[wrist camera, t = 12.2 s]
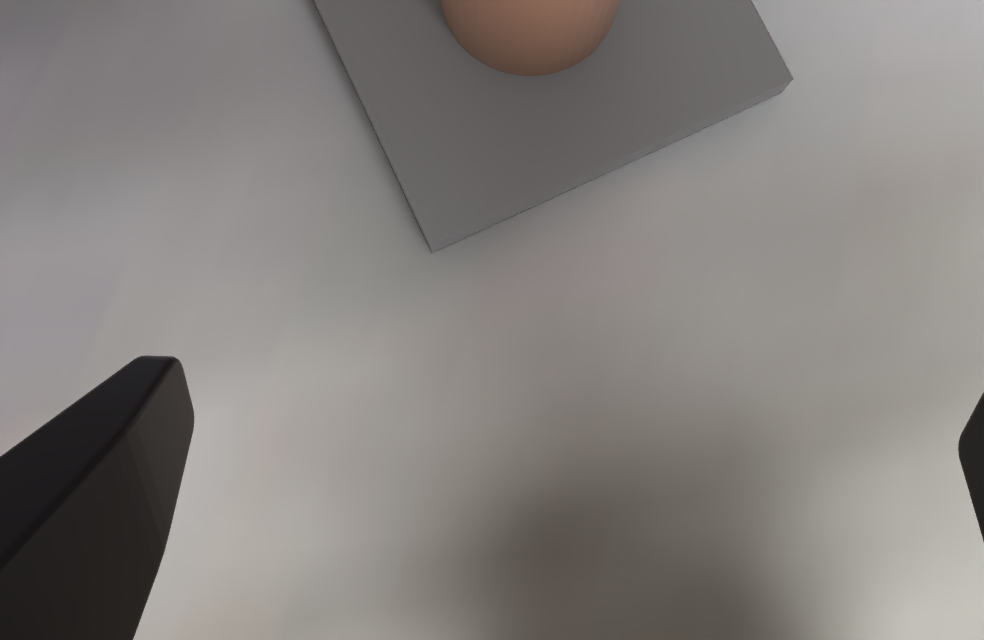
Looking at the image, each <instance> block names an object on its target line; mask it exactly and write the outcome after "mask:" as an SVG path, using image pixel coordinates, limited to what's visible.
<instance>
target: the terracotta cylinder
mask: <svg viewBox="0 0 984 640" xmlns="http://www.w3.org/2000/svg"><path fill="white" fill-rule="evenodd" d="M620 2H621V0H440V4H441V8H442V12H443V15H444V18H445V20H446V23H447V25H448V27H449V29H450V31H451V32H452V34H453V36H454V37H455V38H456V40H457V41H458V42H459V44H460V45H461V46H462V47H463V48H464V49H465V50H466V51H467V52H468V53H469V54H471V55H472V56H473V57H474V58H476V59H477V60H479V61H480V62H482V63H484V64H485V65H487V66H489V67H491V68H494V69H496V70H498V71H502V72H505V73H509V74H514V75H521V76H539V75H547V74H552V73H556V72H559V71H562V70H565V69H568V68H570V67H572V66H573V65H575V64H577V63H579V62H581V61H582V60H583V59H585V58H586V57H588V56H589V55H590V54H591V53H592V52H593V51H594V50H595V49H596V48H597V47H598V46H599V45H600V44H601V42H602V41H603V40H604V39H605V37H606V35H607V34H608V32H609V31H610V28H611V26H612V24H613V22H614V19H615V16H616V13H617V10H618V7H619V5H620Z"/></svg>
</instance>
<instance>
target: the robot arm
mask: <svg viewBox="0 0 984 640" xmlns="http://www.w3.org/2000/svg"><path fill="white" fill-rule="evenodd" d="M193 428H194V410H193V406H192V402H191V398H190V394H189V390H188V386H187V382H186V378H185V374H184V370H183V367H182V364H181V363H180V361H179V360H178V359H177V358H175V357H172V356H140V357H138V358H136V359H134V360H133V361H131V362H130V363H129V364H127V365H126V366H124V367H123V368H122V369H120V370H119V371H118V372H116V373H115V374H113V375H112V376H111V377H109V378H108V379H106V380H105V381H104V382H102V383H101V384H100V385H98V386H97V387H95V388H94V389H93V390H91V391H90V392H89V393H87V394H86V395H84V396H83V397H82V398H80V399H79V400H78V401H76V402H75V403H73V404H72V405H71V406H69V407H68V408H67V409H65V410H64V411H62V412H61V413H60V414H58V415H57V416H56V417H54V418H53V419H51V420H50V421H49V422H47V423H46V424H45V425H43V426H42V427H40V428H39V429H38V430H36V431H35V432H33V433H32V434H31V435H29V436H28V437H27V438H25V439H24V440H22V441H21V442H20V443H18V444H17V445H16V446H14V447H13V448H11V449H10V450H9V451H7V452H6V453H5V454H3V455H2V456H0V640H133V638H134V636H135V633H136V630H137V627H138V625H139V622H140V619H141V616H142V614H143V611H144V608H145V605H146V603H147V600H148V597H149V594H150V592H151V589H152V586H153V583H154V581H155V578H156V575H157V572H158V569H159V566H160V563H161V560H162V557H163V554H164V551H165V548H166V544H167V540H168V536H169V532H170V528H171V524H172V519H173V515H174V511H175V507H176V502H177V498H178V494H179V489H180V485H181V481H182V477H183V472H184V468H185V464H186V459H187V455H188V451H189V447H190V442H191V438H192V434H193ZM958 451H959V458H960V462H961V465H962V469H963V472H964V476H965V479H966V482H967V486H968V489H969V493H970V496H971V499H972V503H973V506H974V510H975V513H976V517H977V520H978V523H979V527H980V530H981V534H982V537H983V541H984V393H983V394H982V396H981V398H980V400H979V402H978V404H977V405H976V407H975V409H974V411H973V413H972V415H971V417H970V419H969V420H968V422H967V424H966V426H965V428H964V430H963V432H962V434H961V436H960V440H959V447H958Z"/></svg>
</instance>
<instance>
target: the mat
mask: <svg viewBox="0 0 984 640" xmlns="http://www.w3.org/2000/svg"><path fill="white" fill-rule="evenodd" d="M313 1H314V3H315V5H316V7H317V9H318V11H319V14H320V16H321V18H322V20H323V22H324V24H325V26H326V28H327V31H328V33H329V35H330V37H331V39H332V41H333V43H334V46H335V48H336V50H337V52H338V54H339V56H340V58H341V60H342V63H343V65H344V67H345V69H346V71H347V73H348V75H349V77H350V80H351V82H352V84H353V86H354V88H355V90H356V92H357V94H358V97H359V99H360V101H361V103H362V105H363V107H364V109H365V111H366V114H367V116H368V118H369V120H370V122H371V124H372V126H373V128H374V131H375V133H376V135H377V137H378V139H379V141H380V143H381V145H382V148H383V150H384V152H385V154H386V156H387V158H388V160H389V162H390V165H391V167H392V169H393V171H394V173H395V175H396V177H397V179H398V182H399V184H400V186H401V188H402V190H403V192H404V194H405V197H406V199H407V201H408V203H409V205H410V207H411V209H412V211H413V214H414V216H415V218H416V220H417V222H418V224H419V226H420V228H421V231H422V233H423V235H424V237H425V239H426V241H427V243H428V245H429V248H430V250H431V252H432V253H433V252H435V251H438V250H440V249H442V248H444V247H446V246H449V245H451V244H453V243H455V242H457V241H459V240H462V239H464V238H466V237H468V236H470V235H473V234H475V233H477V232H479V231H481V230H483V229H486V228H488V227H490V226H492V225H494V224H497V223H499V222H501V221H503V220H505V219H507V218H510V217H512V216H514V215H516V214H518V213H520V212H523V211H525V210H527V209H529V208H531V207H534V206H536V205H538V204H540V203H542V202H544V201H547V200H549V199H551V198H553V197H555V196H558V195H560V194H562V193H564V192H566V191H568V190H571V189H573V188H575V187H577V186H579V185H582V184H584V183H586V182H588V181H590V180H592V179H595V178H597V177H599V176H601V175H603V174H606V173H608V172H610V171H612V170H614V169H616V168H619V167H621V166H623V165H625V164H627V163H629V162H632V161H634V160H636V159H638V158H640V157H643V156H645V155H647V154H649V153H651V152H653V151H656V150H658V149H660V148H662V147H664V146H667V145H669V144H671V143H673V142H675V141H677V140H680V139H682V138H684V137H686V136H688V135H691V134H693V133H695V132H697V131H699V130H701V129H704V128H706V127H708V126H710V125H712V124H715V123H717V122H719V121H721V120H723V119H725V118H728V117H730V116H732V115H734V114H736V113H738V112H741V111H743V110H745V109H747V108H749V107H752V106H754V105H756V104H758V103H760V102H762V101H765V100H767V99H769V98H771V97H773V96H776V95H778V94H780V93H781V92H782V91H783V90H784V89H785V88H786V87H787V86H788V84H789V83H790V82H791V81H792V80H793V77H792V75H791V73H790V72H789V70H788V68H787V66H786V64H785V62H784V60H783V59H782V57H781V55H780V53H779V51H778V49H777V47H776V45H775V44H774V42H773V40H772V38H771V36H770V34H769V32H768V31H767V29H766V27H765V25H764V23H763V21H762V19H761V17H760V16H759V14H758V12H757V10H756V8H755V6H754V4H753V3H752V1H751V0H621V2H620V5H619V7H618V10H617V13H616V16H615V19H614V22H613V24H612V26H611V28H610V31H609V32H608V34H607V35H606V37H605V39H604V40H603V41H602V42H601V44H600V45H599V46H598V47H597V48H596V49H595V50H594V51H593V52H592V53H591V54H590V55H589V56H588V57H586V58H585V59H583V60H582V61H581V62H579V63H577V64H575V65H573V66H572V67H570V68H568V69H565V70H562V71H559V72H556V73H552V74H547V75H539V76H521V75H514V74H509V73H505V72H502V71H498V70H496V69H494V68H491V67H489V66H487V65H485V64H484V63H482V62H480V61H479V60H477V59H476V58H474V57H473V56H472V55H471V54H469V53H468V52H467V51H466V50H465V49H464V48H463V47H462V46H461V45H460V44H459V42H458V41H457V40H456V38H455V37H454V36H453V34H452V32H451V31H450V29H449V27H448V25H447V23H446V20H445V18H444V15H443V12H442V8H441V4H440V0H313Z"/></svg>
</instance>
